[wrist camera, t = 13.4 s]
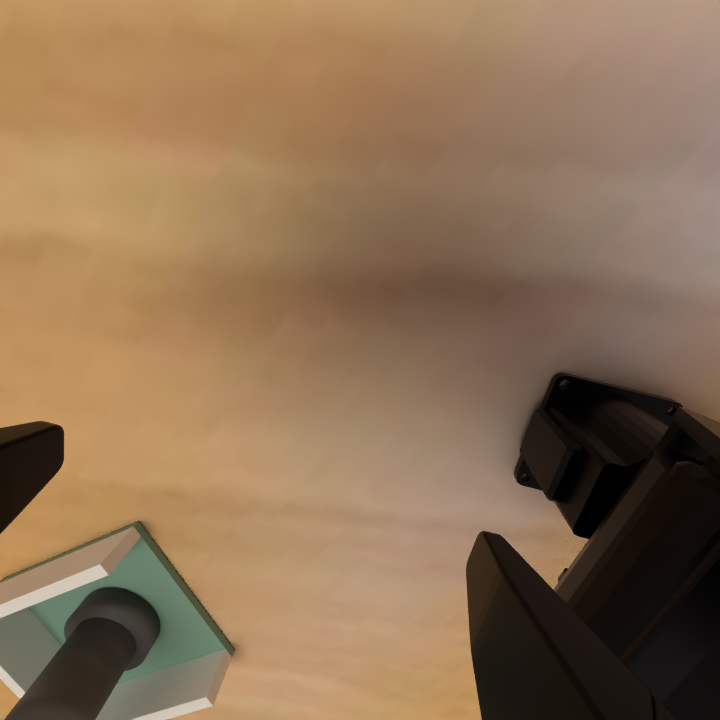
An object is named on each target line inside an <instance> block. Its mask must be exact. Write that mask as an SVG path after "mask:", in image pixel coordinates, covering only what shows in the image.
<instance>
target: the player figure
mask: <svg viewBox="0 0 720 720" xmlns="http://www.w3.org/2000/svg"><path fill="white" fill-rule="evenodd" d="M159 632H160V620H159V617H158V615H157V613H156V611H155V610H154V609H153V607H152V606H151V605H150V604H149V603H148V602H147V601H146V600H144V599H143V598H141V597H140V596H138V595H136V594H134V593H132V592H130V591H127V590H123V589H118V588H103V589H98V590H95V591H93V592H91V593H90V594H89V595H87V596H86V597H85V599H84V600H83V601H82V602H81V604H80V605H79V606H78V607H77V608H76V610H75V611H74V612H73V613H72V614H71V616H70V617H69V618H68V620H67V621H66V623H65V626H64V636H65V640H66V641H65V643H64V644H63V645H62V647H61V648H60V649H59V650H58V652H57V653H56V654H55V655H54V657H53V658H52V659H51V661H50V662H49V663H48V664H47V666H46V667H45V668H44V669H43V671H42V672H41V673H40V675H39V676H38V677H37V678H36V680H35V681H34V682H33V684H32V685H31V686H30V687H29V689H28V690H27V691H26V692H25V694H24V695H23V696H22V698H21V699H20V700H19V701H18V703H17V704H16V705H15V707H14V708H13V709H12V710H11V712H10V713H9V714H8V715H7V717H6V718H5V719H4V720H96V718H97V716H98V715H99V713H100V711H101V709H102V708H103V706H104V704H105V703H106V701H107V699H108V698H109V696H110V694H111V693H112V691H113V689H114V688H115V686H116V684H117V683H118V681H119V679H120V678H121V676H122V674H123V673H124V671H128V670H132V669H134V668H136V667H138V666H139V665H140V664H142V663H143V661H144V660H145V658H146V657H147V655H148V653H149V651H150V649H151V648H152V646H153V644H154V642H155V641H156V639H157V637H158V635H159Z"/></svg>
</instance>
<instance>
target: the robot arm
mask: <svg viewBox="0 0 720 720" xmlns="http://www.w3.org/2000/svg"><path fill="white" fill-rule="evenodd" d="M563 380H567V383H566V385H565V386H563V387H559V384H560V382H561V381H563ZM671 407H673V409H672V411H671V412H669V413H667V411H668V409H669V408H671ZM520 453H521V456H520V459H519V461H518V464H517V466H516V469H515V471H514V476H515V479H516V481H517V482H518V483H519V484H520V485H523V486H527V487H531V488H535V489H539V490H543V492H544V494H545V495H546V497H547V499H548V500H550V501H554V502H555V503H556V505H557V507H558V508H559V510H560V512H561V513H562V515H563V516H564V518H565V520H566V521H567V523H568V525H569V526H570V528H571V530H572V531H573V533H574V534H575V535H577V536H579V537H583V538H587V539H589V540H588V542H587V543H586V544H585V546H584V547H583V549H582V550H581V551H580V553H579V554H578V556H577V557H576V558H575V560H574V561H573V563H572V564H571V565H570V567H569V568H565V569H564V570H563V572H562V573H561V575H560V576H559V577H558V584H557V585H556V587H555V588H554V590H553V589H552V588H551V587H550V586H549V585H548V584H547V583H546V582H545V581H544V580H543V579H542V577H541V576H540V575H539V574H538V573H537V572H536V571H535V570H534V569H533V568H532V567H531V566H530V565H529V564H528V563H527V562H526V561H525V560H524V559H523V558H522V557H521V556H520V555H519V553H518V552H517V551H516V550H515V549H514V548H513V547H512V546H511V545H510V544H509V543H508V542H507V541H506V540H505V539H504V538H503V537H502V536H501V535H499V534H495V533H491V532H487V531H482V532H480V533H479V534H478V536H477V538H476V541H475V543H474V546H473V548H472V551H471V553H470V556H469V558H468V561H467V566H466V580H467V597H468V614H469V631H470V645H471V654H472V661H473V668H474V674H475V680H476V686H477V693H478V699H479V705H480V711H481V717H482V720H720V423H719V422H717V421H714V420H712V419H709V418H707V417H704V416H702V415H699V414H697V413H695V412H692V411H690V410H687V409H685V408H683V406H682V405H681V404H679V403H678V402H676V401H674V400H672V399H668V398H664V397H660V396H656V395H652V394H647V393H643V392H639V391H635V390H631V389H627V388H623V387H619V386H615V385H611V384H607V383H603V382H599V381H595V380H591V379H587V378H583V377H579V376H575V375H571V374H567V373H559V374H557V375H555V376H554V377H553V379H552V380H551V383H550V385H549V388H548V390H547V393H546V395H545V398H544V400H543V403H542V405H541V407H540V408H539V409H537V410H536V411H535V413H534V415H533V417H532V420H531V422H530V425H529V427H528V430H527V432H526V435H525V437H524V440H523V442H522V445H521V447H520ZM63 461H64V430H63V428H62V427H61V426H60V425H56V424H53V423H49V422H44V421H37V422H31V423H26V424H20V425H15V426H9V427H4V428H0V534H1V533H2V532H3V531H4V530H5V529H6V528H7V526H8V525H9V524H10V523H11V522H12V521H13V520H14V519H15V518H16V517H17V516H18V515H19V514H20V513H21V512H22V510H23V509H24V508H25V507H26V506H27V505H28V504H29V503H30V502H31V501H32V500H33V498H34V497H35V496H36V495H37V494H38V493H39V492H40V491H41V490H42V489H43V488H44V487H45V485H46V484H47V483H48V482H49V481H50V480H51V479H52V478H53V477H54V476H55V475H56V473H57V472H58V471H59V470H60V468H61V466H62V464H63ZM523 474H528V475H527V476H526V477H521V476H522V475H523Z"/></svg>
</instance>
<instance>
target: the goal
mask: <svg viewBox="0 0 720 720" xmlns="http://www.w3.org/2000/svg"><path fill="white" fill-rule="evenodd" d="M103 588H118V589H123V590H127V591H130V592H132V593H134V594H136V595H138V596H140V597H141V598H143V599H144V600H146V601H147V602H148V603H149V604H150V605H151V606H152V607H153V609H154V610H155V611H156V613H157V615H158V617H159V620H160V632H159V635H158V637H157V639H156V641H155V642H154V644H153V646H152V648H151V649H150V651H149V653H148V655H147V657H146V658H145V660H144V661H143V663H142V664H140V665H139V666H138V667H136V668H134V669H132V670H128V671H124V673H123V674H122V676H121V678H120V679H119V681H118V683H117V684H116V686H115V688H114V689H113V691H112V693H111V694H110V696H109V698H108V699H107V701H106V703H105V704H104V706H103V708H102V709H101V711H100V713H99V715H98V716H97V718H96V720H166V719H170V718H173V717H177V716H180V715H184V714H187V713H190V712H194V711H197V710H201V709H204V708H208V707H211V706H213V705H214V702H215V699H216V697H217V694H218V692H219V689H220V686H221V684H222V681H223V679H224V676H225V673H226V671H227V668H228V666H229V663H230V660H231V658H232V655H233V653H234V649H233V647H232V646H231V645H230V643H229V642H228V640H227V639H226V638H225V636H224V635H223V634H222V632H221V631H220V630H219V628H218V627H217V626H216V624H215V623H214V622H213V620H212V619H211V618H210V616H209V615H208V614H207V612H206V611H205V610H204V608H203V607H202V606H201V604H200V603H199V602H198V600H197V599H196V597H195V596H194V595H193V593H192V592H191V591H190V589H189V588H188V587H187V585H186V584H185V583H184V581H183V580H182V579H181V577H180V576H179V575H178V573H177V572H176V571H175V569H174V568H173V567H172V565H171V564H170V563H169V561H168V560H167V559H166V557H165V556H164V554H163V553H162V552H161V550H160V549H159V548H158V546H157V545H156V544H155V542H154V541H153V540H152V538H151V537H150V536H149V534H148V533H147V532H146V530H145V529H144V528H143V526H142V525H141V524H140V522H139V521H138V522H135V523H133V524H131V525H128V526H126V527H123V528H121V529H119V530H116V531H114V532H112V533H109V534H107V535H105V536H102V537H100V538H98V539H95V540H93V541H90V542H88V543H86V544H83V545H81V546H79V547H76V548H74V549H72V550H69V551H67V552H64V553H62V554H60V555H57V556H55V557H53V558H50V559H48V560H46V561H43V562H41V563H39V564H36V565H34V566H31V567H29V568H27V569H24V570H22V571H20V572H17V573H15V574H13V575H10V576H8V577H5V578H3V579H2V580H1V581H0V679H1V680H2V681H3V682H4V683H5V684H6V685H7V686H8V687H9V688H10V689H11V690H12V691H13V692H14V693H15V694H16V696H17V697H18V698H19V699H21V698H22V696H23V695H24V694H25V692H26V691H27V690H28V689H29V687H30V686H31V685H32V684H33V682H34V681H35V680H36V678H37V677H38V676H39V675H40V673H41V672H42V671H43V669H44V668H45V667H46V666H47V664H48V663H49V662H50V661H51V659H52V658H53V657H54V655H55V654H56V653H57V652H58V650H59V649H60V648H61V647H62V645H63V644H64V643H65V641H66V640H65V636H64V626H65V623H66V621H67V620H68V618H69V617H70V616H71V614H72V613H73V612H74V611H75V610H76V608H77V607H78V606H79V605H80V604H81V602H82V601H83V600H84V599H85V597H86V596H87V595H89V594H90V593H91V592H93V591H95V590H98V589H103Z"/></svg>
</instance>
